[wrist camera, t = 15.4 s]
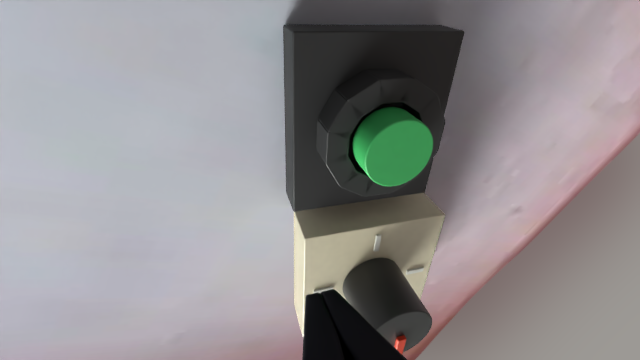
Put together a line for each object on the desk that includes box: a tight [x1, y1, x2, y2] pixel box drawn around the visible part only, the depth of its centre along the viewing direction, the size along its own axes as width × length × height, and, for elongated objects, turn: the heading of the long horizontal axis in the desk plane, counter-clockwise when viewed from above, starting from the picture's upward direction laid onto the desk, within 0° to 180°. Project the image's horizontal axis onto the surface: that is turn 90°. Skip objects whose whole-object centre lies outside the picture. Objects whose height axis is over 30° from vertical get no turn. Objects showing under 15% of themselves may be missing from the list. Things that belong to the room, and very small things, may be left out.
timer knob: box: [343, 258, 432, 354], centre depth 22 cm, size 4×4×5 cm
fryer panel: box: [294, 193, 445, 337], centre depth 25 cm, size 10×10×3 cm
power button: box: [352, 107, 433, 186], centre depth 17 cm, size 4×4×2 cm
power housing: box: [283, 25, 464, 212], centre depth 19 cm, size 10×9×4 cm
